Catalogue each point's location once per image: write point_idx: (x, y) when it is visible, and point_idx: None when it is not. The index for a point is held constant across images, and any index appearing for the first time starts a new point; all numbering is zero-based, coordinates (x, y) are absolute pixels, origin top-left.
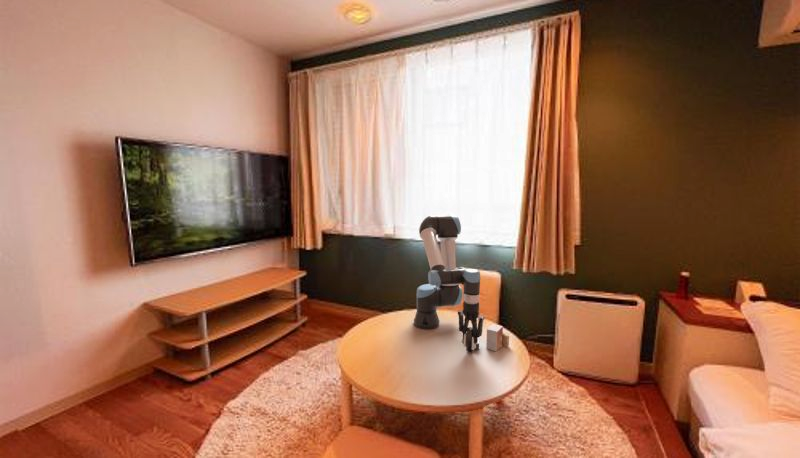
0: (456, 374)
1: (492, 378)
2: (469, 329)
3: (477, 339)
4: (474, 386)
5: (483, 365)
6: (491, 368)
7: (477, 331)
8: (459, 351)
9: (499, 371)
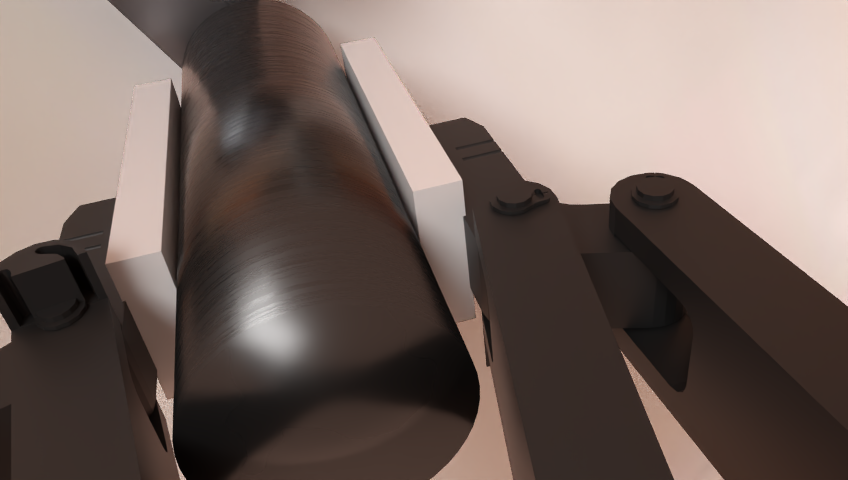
0: (459, 462)
1: (777, 245)
2: (338, 473)
3: (509, 170)
4: (676, 435)
5: (598, 133)
6: (710, 104)
7: (694, 441)
8: (65, 128)
9: (815, 78)
